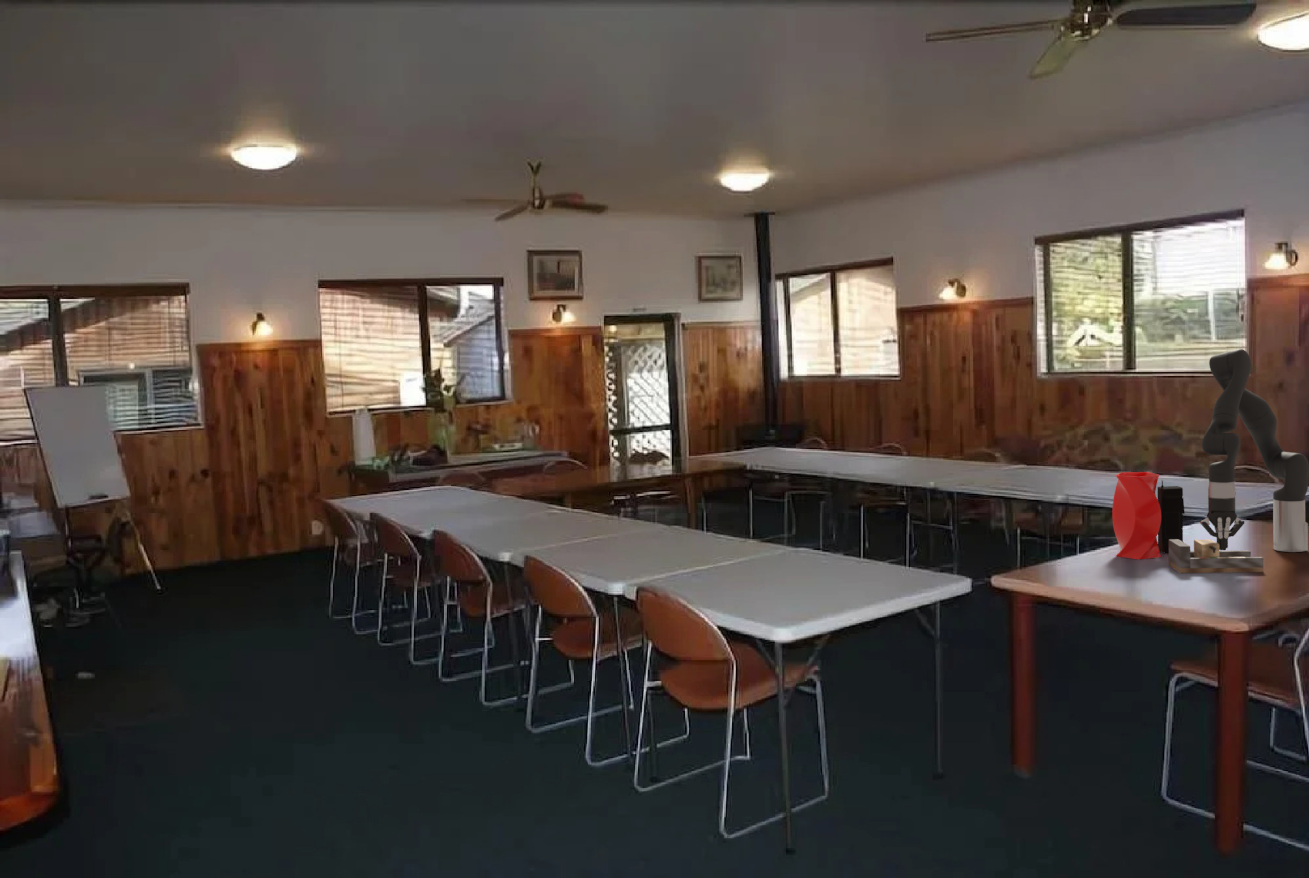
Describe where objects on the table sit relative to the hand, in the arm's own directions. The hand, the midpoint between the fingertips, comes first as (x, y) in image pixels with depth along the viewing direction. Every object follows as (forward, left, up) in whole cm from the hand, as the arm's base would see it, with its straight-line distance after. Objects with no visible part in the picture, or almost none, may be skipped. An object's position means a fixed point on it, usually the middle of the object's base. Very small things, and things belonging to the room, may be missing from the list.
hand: (1222, 549), depth 331 cm
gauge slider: (+5, +1, -4) cm, 6 cm away
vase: (+20, -23, -6) cm, 31 cm away
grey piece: (+2, 0, -6) cm, 6 cm away
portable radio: (+7, -28, -6) cm, 30 cm away
